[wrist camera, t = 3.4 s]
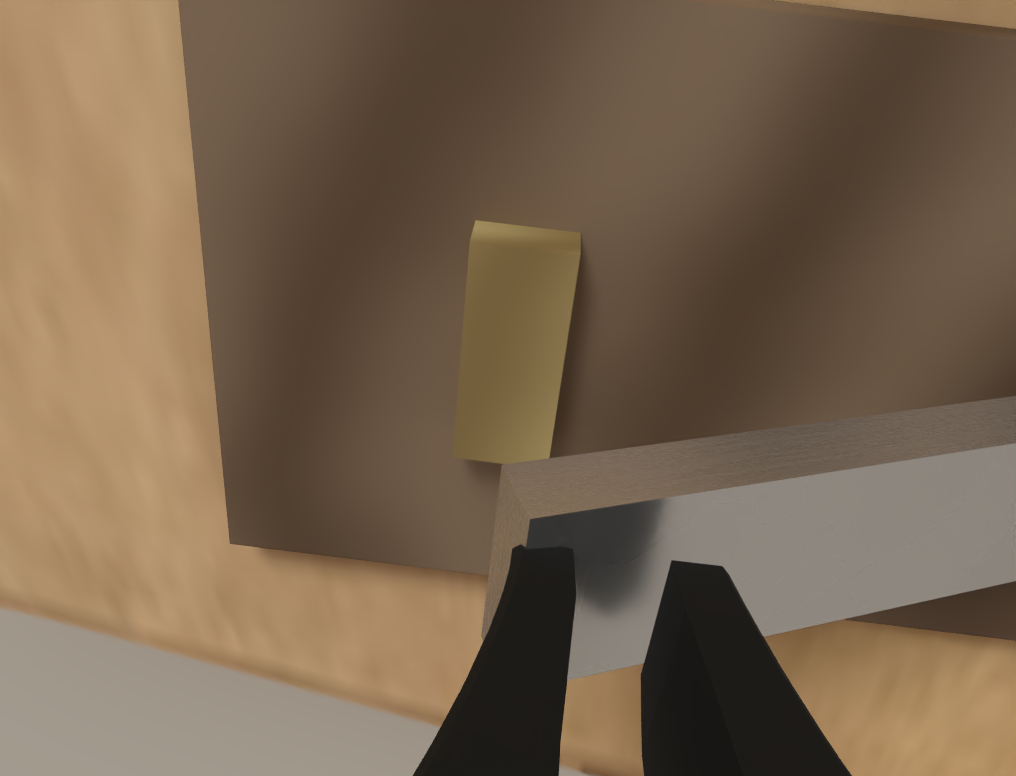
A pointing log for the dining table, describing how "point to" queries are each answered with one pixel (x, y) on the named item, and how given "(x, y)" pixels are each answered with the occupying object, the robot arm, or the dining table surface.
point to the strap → (772, 521)
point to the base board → (583, 246)
